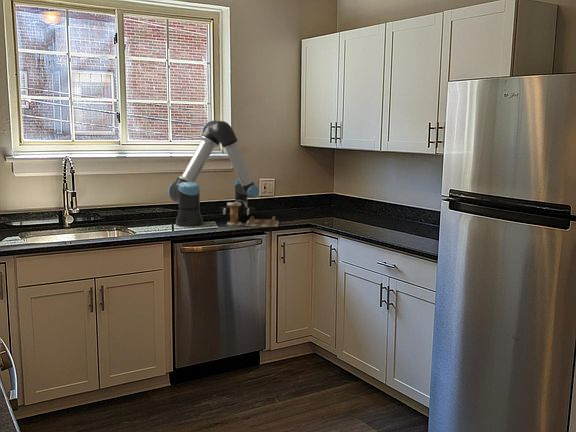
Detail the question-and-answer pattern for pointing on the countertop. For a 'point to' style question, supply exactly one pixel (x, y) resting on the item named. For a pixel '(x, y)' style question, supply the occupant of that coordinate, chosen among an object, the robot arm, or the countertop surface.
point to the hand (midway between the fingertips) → (235, 212)
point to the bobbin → (233, 214)
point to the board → (262, 222)
